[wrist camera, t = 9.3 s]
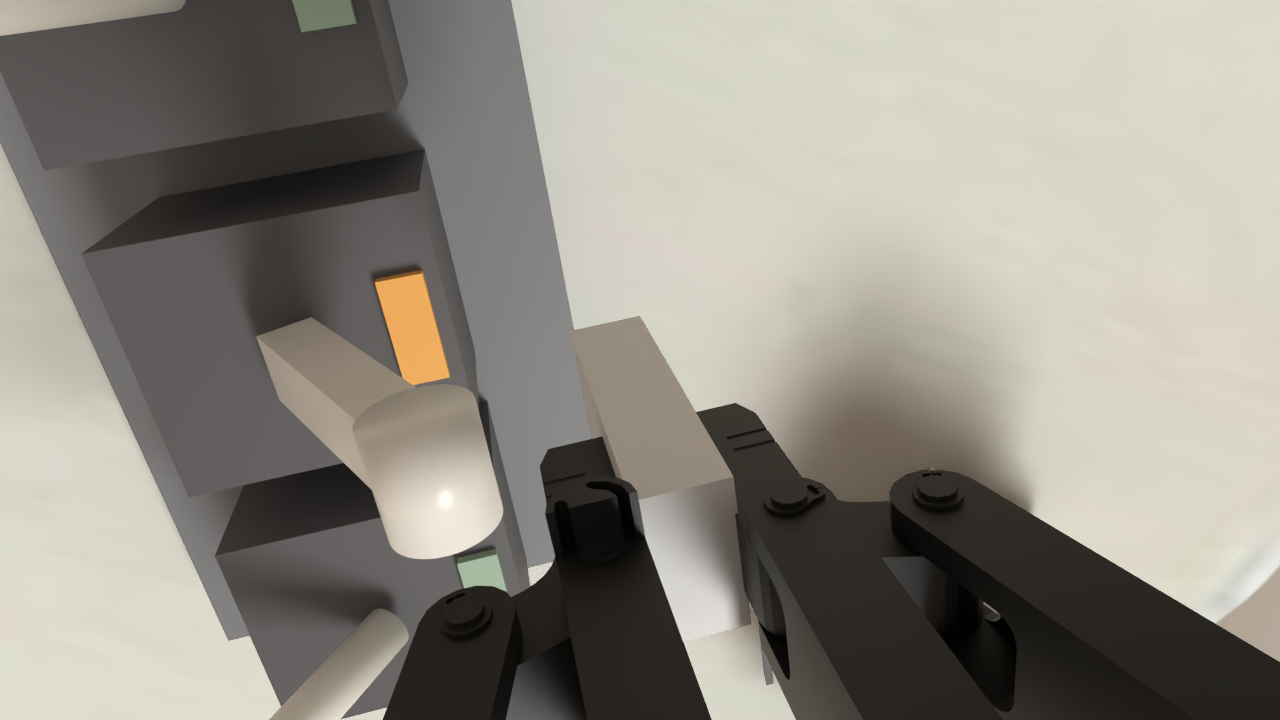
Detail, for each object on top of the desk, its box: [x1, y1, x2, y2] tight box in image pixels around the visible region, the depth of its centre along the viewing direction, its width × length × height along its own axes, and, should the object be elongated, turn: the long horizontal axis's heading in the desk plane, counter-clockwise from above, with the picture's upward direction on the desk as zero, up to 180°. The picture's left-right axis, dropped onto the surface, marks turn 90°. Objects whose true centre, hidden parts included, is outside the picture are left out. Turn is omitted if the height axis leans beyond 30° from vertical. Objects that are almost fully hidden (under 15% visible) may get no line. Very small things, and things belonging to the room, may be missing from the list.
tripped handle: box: [256, 317, 503, 559], centre depth 18 cm, size 2×2×9 cm
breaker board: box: [0, 0, 592, 720], centre depth 23 cm, size 15×26×17 cm, turn 8°
